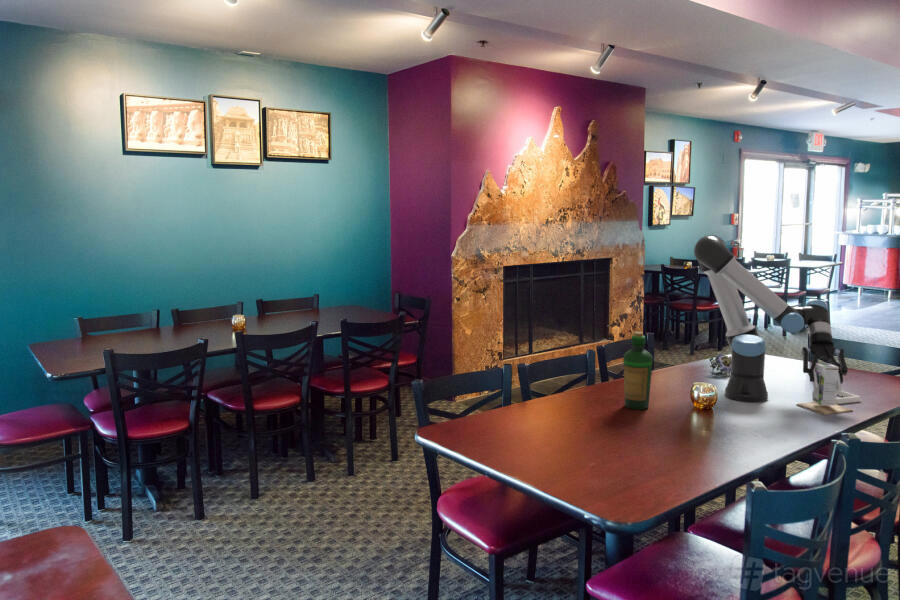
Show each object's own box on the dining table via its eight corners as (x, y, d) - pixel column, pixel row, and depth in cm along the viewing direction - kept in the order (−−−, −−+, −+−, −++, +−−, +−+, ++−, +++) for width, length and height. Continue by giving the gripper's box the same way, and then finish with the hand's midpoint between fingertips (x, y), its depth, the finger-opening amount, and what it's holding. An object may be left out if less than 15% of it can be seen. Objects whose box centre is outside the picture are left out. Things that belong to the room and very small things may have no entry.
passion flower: (726, 387, 280) (722, 369, 274) (704, 378, 289) (700, 360, 282) (741, 371, 284) (737, 352, 277) (719, 362, 292) (715, 344, 286)
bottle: (615, 405, 239) (617, 331, 235) (637, 401, 244) (639, 329, 240) (636, 412, 230) (638, 336, 226) (657, 408, 234) (660, 333, 231)
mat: (823, 415, 225) (823, 413, 225) (796, 405, 236) (796, 403, 236) (852, 411, 228) (852, 409, 228) (824, 402, 240) (824, 400, 240)
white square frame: (836, 404, 237) (837, 399, 237) (812, 396, 247) (812, 391, 247) (860, 401, 240) (860, 396, 240) (834, 393, 250) (835, 388, 250)
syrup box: (812, 400, 235) (814, 362, 233) (828, 401, 235) (831, 362, 233) (819, 405, 229) (821, 366, 228) (836, 405, 229) (839, 366, 227)
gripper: (847, 343, 241) (856, 397, 228) (789, 340, 247) (795, 392, 234) (852, 332, 235) (861, 386, 222) (793, 329, 241) (798, 382, 228)
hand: (827, 389), depth 228 cm, fingers open, 7 cm apart
